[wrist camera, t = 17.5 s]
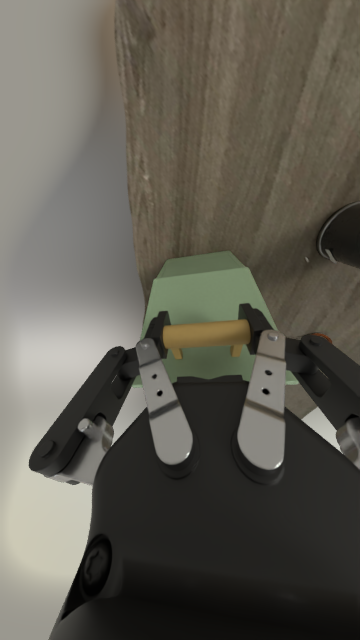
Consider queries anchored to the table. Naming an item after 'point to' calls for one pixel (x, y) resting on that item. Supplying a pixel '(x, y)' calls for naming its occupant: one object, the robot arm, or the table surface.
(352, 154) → the table surface
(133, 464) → the robot arm
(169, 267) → the storage box
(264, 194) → the table surface
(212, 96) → the table surface
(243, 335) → the lid
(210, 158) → the table surface
